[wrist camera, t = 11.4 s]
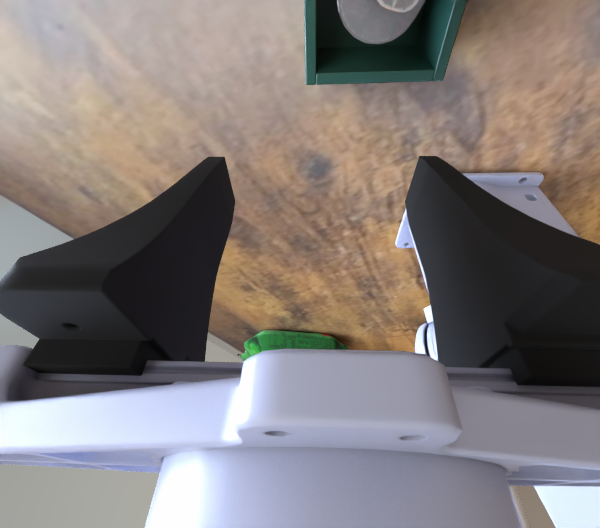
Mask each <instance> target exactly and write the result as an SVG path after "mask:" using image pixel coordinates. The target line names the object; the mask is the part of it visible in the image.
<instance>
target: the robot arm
mask: <svg viewBox="0 0 600 528" xmlns="http://www.w3.org/2000/svg"><path fill="white" fill-rule="evenodd" d="M522 178H523V179H522ZM520 179H522V180H520ZM543 179H544V175H543V174H542V173H541V172H511V173H460V172H459V171H458V170H456V169H455V168H454V167H452V166H451V165H449V164H448V163H447V162H445V161H444V160H442V159H441V158H439V157H437V156H419V160H418V163H417V166H416V169H415V172H414V175H413V178H412V182H411V185H410V188H409V191H408V194H407V197H406V200H405V205H406V209H405V213H404V216H403V219H402V222H401V226H400V229H399V232H398V235H397V238H396V242H395V244H396V247H398V248H415V251H416V254H417V257H418V261H419V264H420V267H421V270H422V274H423V277H424V280H425V284H426V287H427V290H428V294H429V298H430V304H431V305H430V306H428V307H426V308H424V312H425V316H426V320H427V323H425V324H423V325H421V326H420V327H419V329H418V331H417V335H416V342H415V353H413V352H406V351H372V350H325V349H278V350H267V351H262V352H260V353H258V354H256V355H253V356H251V357H249V358H248V359H246V360H245V361H244V363H239V362H205V352H206V342H207V334H208V326H209V318H210V311H211V305H212V298H213V292H214V287H215V281H216V276H217V272H218V268H219V264H220V261H221V258H222V254H223V251H224V248H225V245H226V241H227V238H228V235H229V231H230V228H231V224H232V219H233V213H234V206H235V199H234V195H233V190H232V186H231V182H230V178H229V174H228V170H227V165H226V161H225V157H208V158H206V159H205V160H203V161H202V162H201V163H200V164H198V165H197V166H196V167H195V168H194V169H192V170H191V171H190V172H189V173H188V174H186V175H185V176H184V177H183V178H181V179H180V180H179V181H178V182H177V183H175V184H174V185H173V186H171V187H170V188H169V189H167V190H166V191H165V192H163V193H162V194H161V195H159V196H158V197H157V198H155V199H154V200H152V201H151V202H149V203H148V204H146V205H144V206H143V207H141V208H139V209H138V210H136V211H134V212H133V213H131V214H129V215H127V216H125V217H123V218H121V219H119V220H117V221H115V222H113V223H111V224H109V225H107V226H105V227H103V228H101V229H99V230H96V231H94V232H92V233H89V234H87V235H85V236H82V237H79V238H77V239H74V240H72V241H69V242H66V243H64V244H61V245H58V246H55V247H52V248H49V249H45V250H42V251H39V252H36V253H33V254H30V255H27V256H23V257H20V258H19V259H18V260H17V262H16V263H15V264H14V265H13V266H12V268H11V269H10V270H9V271H8V272H7V274H6V275H5V276H4V277H3V278H2V280H1V281H0V314H2V315H3V316H4V317H6V318H7V319H9V320H11V321H12V322H14V323H15V324H17V325H19V326H20V327H22V328H23V329H25V330H27V331H28V332H30V333H31V334H33V335H35V336H36V337H38V338H40V339H39V341H38V342H37V344H36V345H35V347H34V348H33V349H32V348H29V347H25V346H18V345H0V464H6V465H32V466H51V467H69V468H87V469H103V470H120V471H136V472H152V473H160V474H159V478H158V481H157V485H156V489H155V492H154V496H153V499H152V503H151V507H150V511H149V514H148V518H147V521H146V525H145V528H523V525H522V522H521V519H520V516H519V513H518V510H517V507H516V505H515V502H514V499H513V496H512V493H511V490H510V487H509V486H534V487H535V489H536V491H537V493H538V495H539V497H540V498H541V501H542V502H543V504H544V506H545V508H546V510H547V512H548V514H549V515H550V517H551V519H552V521H553V523H554V525H555V527H556V528H600V245H599V244H596V243H593V242H591V241H588V240H585V239H582V238H580V237H579V236H578V235H577V233H576V232H575V231H574V230H573V229H572V227H571V226H570V225H569V224H568V222H567V221H566V220H565V219H564V218H563V216H562V215H561V214H560V213H559V211H558V210H557V209H556V208H555V207H554V205H553V204H552V203H551V202H550V201H549V199H548V198H547V197H546V196H545V194H544V193H543V192H542V191H541V190H540V188H539V185H540V184H541V182H542V181H543ZM405 243H406V244H405Z"/></svg>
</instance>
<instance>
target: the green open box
mask: <svg viewBox="0 0 600 528" xmlns="http://www.w3.org/2000/svg"><path fill="white" fill-rule="evenodd" d="M466 2H467V0H425V2H424V4H423V6H422V7H421V9H420V11H419V13H418V14H417V16H416V18H415V20H414V21H413V22H412V23H411V25H410V26H409V27H408V29H407V30H406V31H405V32H404V33H402V34H401V35H399V36H398V37H397V38H395V39H394V40H392V41H388V42H385V43H381V44H371V43H365V42H363V41H361V40H359V39H357V38H355V37H354V36H353V35H352V34H351V33H350V32H349V31H348V30H347V29H346V28H345V26H344V24H343V21H342V19H341V16H340V14H339V11H338V5H337V0H304V20H305V71H306V85H315V84H317V85H321V84H354V83H387V82H420V81H442V80H443V78H444V75H445V71H446V68H447V65H448V62H449V58H450V55H451V52H452V48H453V45H454V42H455V38H456V35H457V32H458V29H459V25H460V22H461V19H462V15H463V12H464V9H465V6H466Z"/></svg>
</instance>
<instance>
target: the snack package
mask: <svg viewBox="0 0 600 528" xmlns="http://www.w3.org/2000/svg"><path fill="white" fill-rule="evenodd" d="M244 348H245V350H246V351H245V353H244V354H243V355H240V356H241V358H242V359H243V361H245V360H246V359H248V358H249V357H251V356H253V355H256V354H258V353H260V352H262V351H267V350H278V349H325V350H347V349H348V346H347V345H343V344H341V343H340V342H339V341H337V340H336V339H335V338H334V337H332V336H330V335H327V334H318V333H304V332H294V331H278V330H264V331H261V332H260V333H259V334H258V335H256V336H254V337H253V338H250V339H248V340H247V341H246V342H245V343H244ZM238 355H239V354H238ZM238 355H237V356H238Z"/></svg>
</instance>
